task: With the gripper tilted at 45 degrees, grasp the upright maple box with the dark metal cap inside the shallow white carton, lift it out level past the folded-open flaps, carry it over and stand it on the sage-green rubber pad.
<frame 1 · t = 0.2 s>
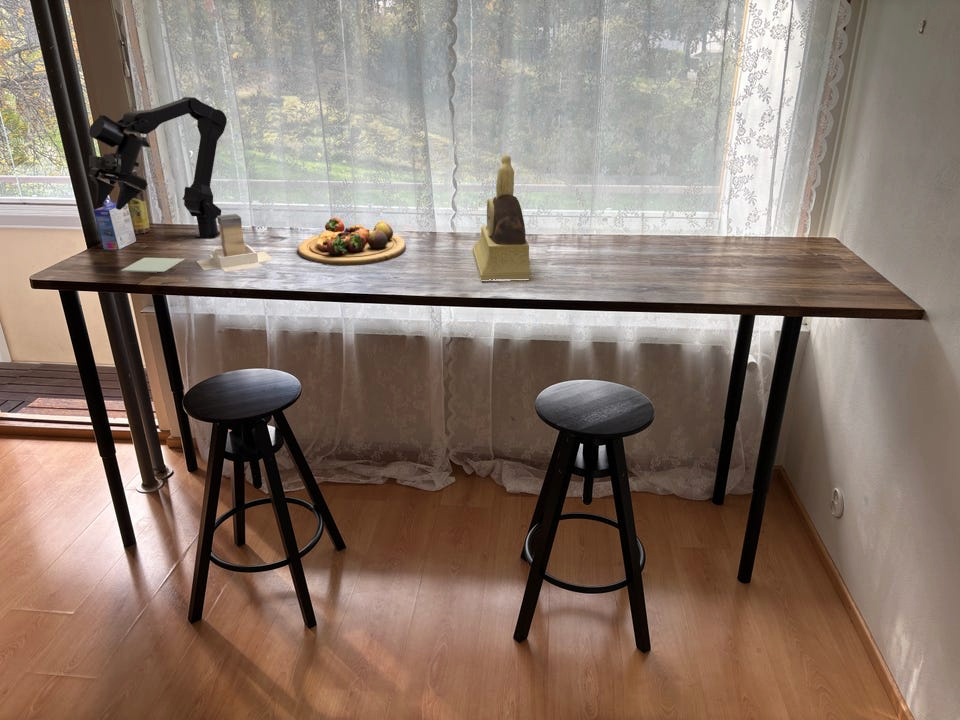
hand: (108, 207, 196), 15 cm above the table, tool tilted 35°, fingers open, 9 cm apart
wooden plate with food: (352, 252, 211), on the table
carton: (235, 261, 200), on the table
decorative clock: (499, 266, 197), on the table
sauce bottle: (140, 233, 230), on the table
rubber pad: (153, 265, 196), on the table
ink cartridge box: (120, 246, 215), on the table
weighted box: (235, 260, 200), resting on carton
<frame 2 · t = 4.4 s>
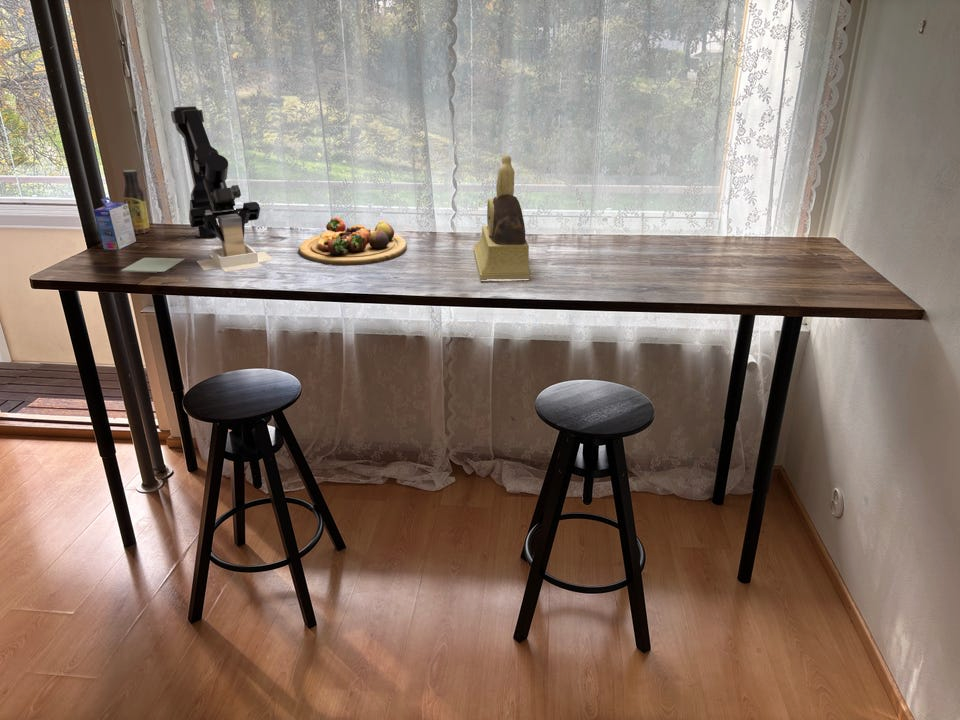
hand: (233, 239, 196), 7 cm above the table, tool tilted 45°, fingers closed on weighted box, 5 cm apart
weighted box: (235, 260, 200), resting on carton, touching gripper
everything else where it was.
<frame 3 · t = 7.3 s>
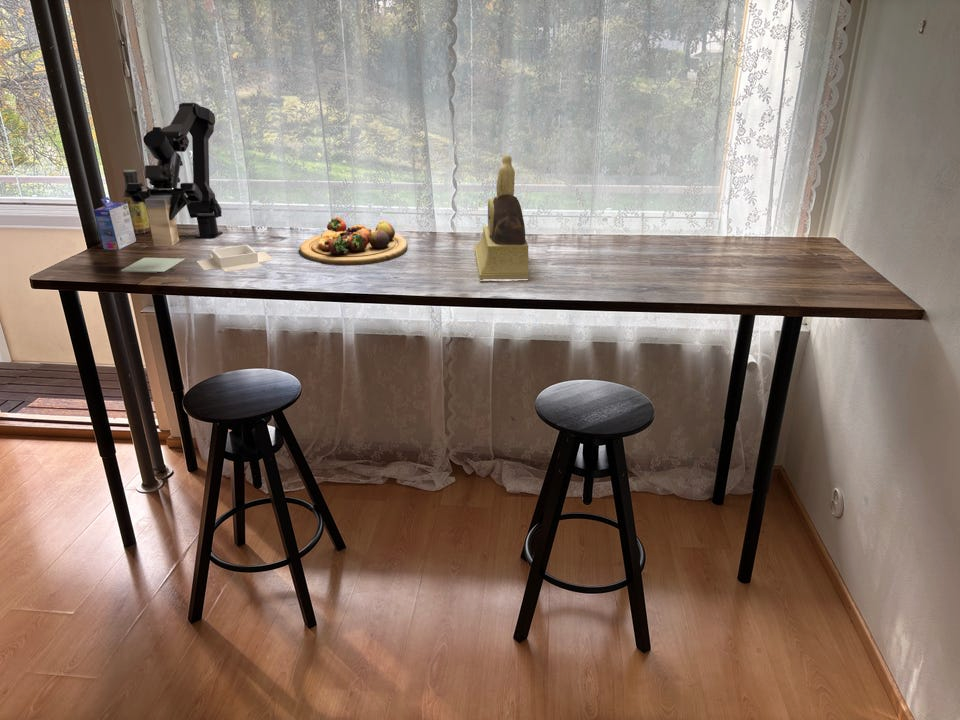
hand: (160, 219, 189), 13 cm above the table, tool tilted 45°, fingers closed on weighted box, 5 cm apart
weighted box: (166, 243, 193), point 6 cm above the table, touching gripper
everything else where it was.
when the fingers open (8 cm above the table, at t = 9.5 s): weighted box stays where it is, resting on rubber pad.
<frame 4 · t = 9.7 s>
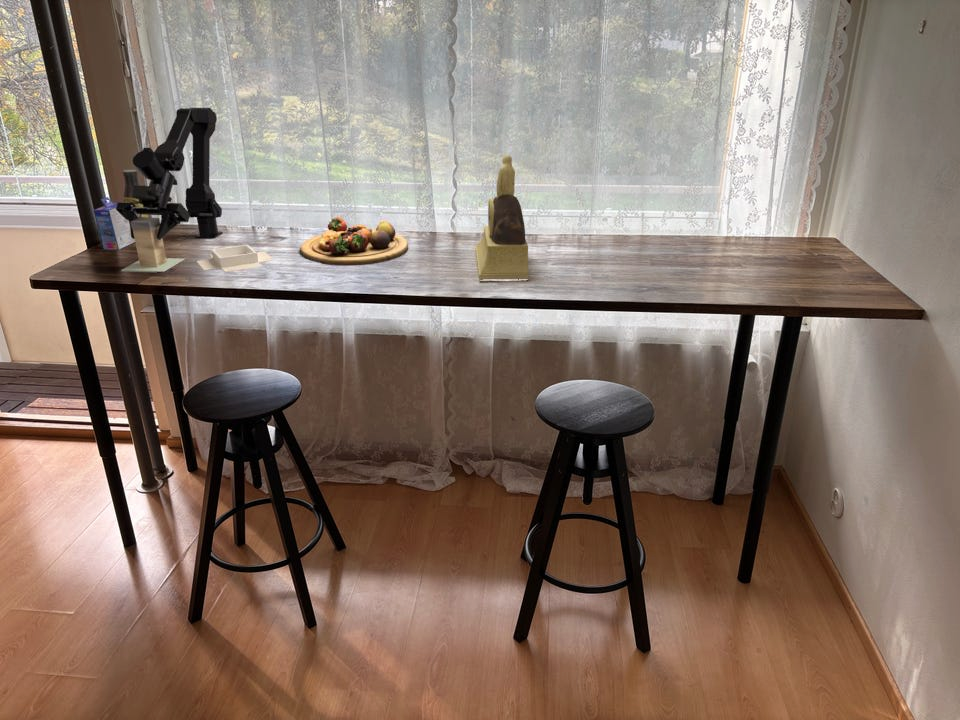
hand: (145, 238, 192), 8 cm above the table, tool tilted 45°, fingers open, 7 cm apart
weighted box: (153, 264, 196), resting on rubber pad
everything else where it was.
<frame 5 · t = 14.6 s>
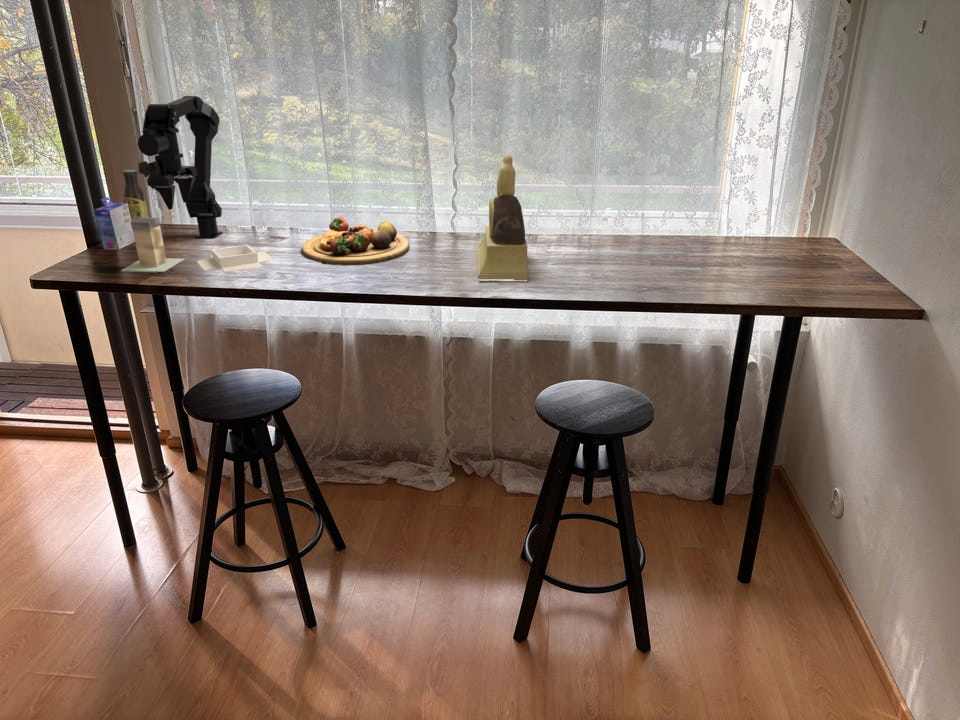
hand: (178, 205, 206), 13 cm above the table, tool pointing down, fingers open, 9 cm apart
at the end: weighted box inside the target area on the rubber pad (0.0 cm from its centre), point 0.4 cm above the rubber pad's base; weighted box tilted 0°; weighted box touching rubber pad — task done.
